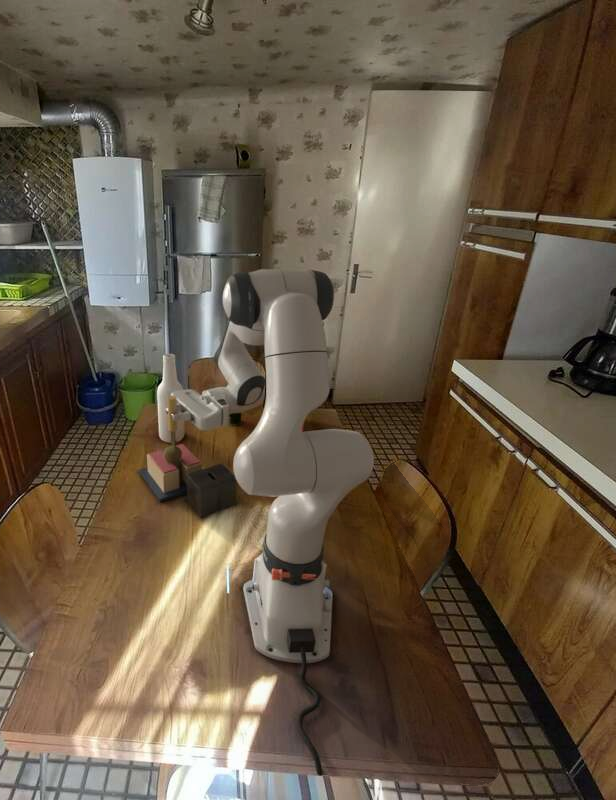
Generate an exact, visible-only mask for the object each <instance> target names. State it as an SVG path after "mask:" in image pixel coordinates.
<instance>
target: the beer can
mask: <svg viewBox="0 0 616 800" xmlns="http://www.w3.org/2000/svg"><path fill="white" fill-rule="evenodd" d="M241 422H242V412H241V413H232V414H230V415H229V423H228V425H229V426H239V425H240V424H241Z"/></svg>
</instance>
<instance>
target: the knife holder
mask: <svg viewBox="0 0 616 800" xmlns="http://www.w3.org/2000/svg"><path fill="white" fill-rule="evenodd" d="M237 488H238V482H237V480H236V478H235V475H234V473H233V472H231V471H230V470H229V468H228V467H226V466H225V465H224V463H218V464H215V465H211V466H209V467H206V468H202V470H199V471H195V472H192V473H189V474H187V493H186V502H187V503H188V504H189V506H190V507H191V508H192V509H193V511H194V512H195V514H196V515H198V517H199V518H200V519H201V518H205V517H207V516H210V515H213V514H216V513H218V512H221V511H224V510H226V509H229V508H231V507H235V506H236V505H237V490H238V489H237Z"/></svg>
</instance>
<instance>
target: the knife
mask: <svg viewBox="0 0 616 800" xmlns="http://www.w3.org/2000/svg"><path fill="white" fill-rule="evenodd" d="M167 401H168V426H169V431H171V443H170V446H173V447H174V448H176V446H177V442H176V440H175V431H177V421H174V420H173V419H172V418H171V417H172V416H171V414H172V413H175V412H177V406H176V397H175V396H169V397H168V398H167Z"/></svg>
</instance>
